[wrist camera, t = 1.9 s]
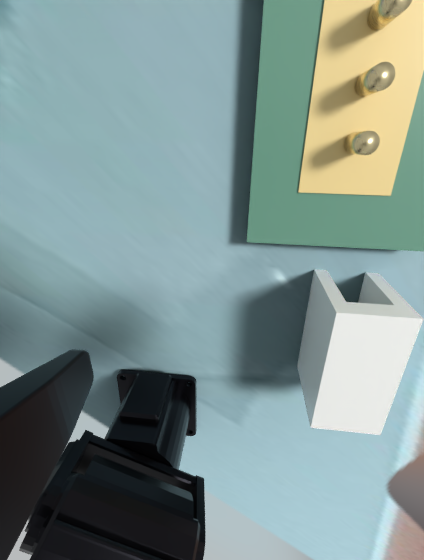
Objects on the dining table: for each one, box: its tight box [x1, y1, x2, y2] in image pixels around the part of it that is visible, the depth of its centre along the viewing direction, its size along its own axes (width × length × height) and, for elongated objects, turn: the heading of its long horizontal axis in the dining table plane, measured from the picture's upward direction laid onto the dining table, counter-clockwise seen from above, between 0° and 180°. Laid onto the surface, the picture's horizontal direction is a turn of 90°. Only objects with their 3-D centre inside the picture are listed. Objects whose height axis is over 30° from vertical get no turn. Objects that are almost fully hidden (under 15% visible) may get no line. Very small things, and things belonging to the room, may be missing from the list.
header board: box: [247, 0, 424, 251], centre depth 14 cm, size 16×10×3 cm, turn 179°
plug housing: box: [297, 269, 423, 435], centre depth 19 cm, size 8×4×6 cm, turn 179°
